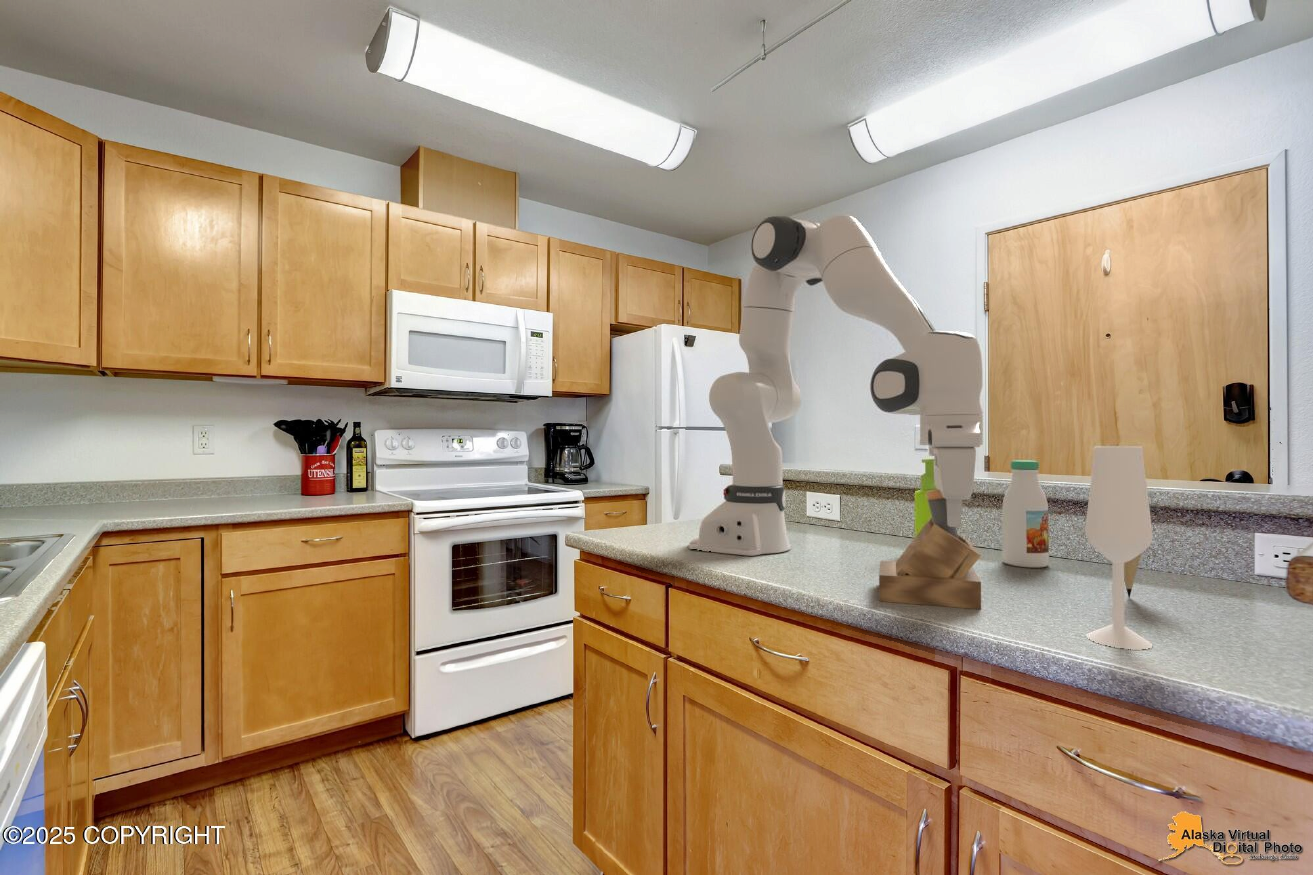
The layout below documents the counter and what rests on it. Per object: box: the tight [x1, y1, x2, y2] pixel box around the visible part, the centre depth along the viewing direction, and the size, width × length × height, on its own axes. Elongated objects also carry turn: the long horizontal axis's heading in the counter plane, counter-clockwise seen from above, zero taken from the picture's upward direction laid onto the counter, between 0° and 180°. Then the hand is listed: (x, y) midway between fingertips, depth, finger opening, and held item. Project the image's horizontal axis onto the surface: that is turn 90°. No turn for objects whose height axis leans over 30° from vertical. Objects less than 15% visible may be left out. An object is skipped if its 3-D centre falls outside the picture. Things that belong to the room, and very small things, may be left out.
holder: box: [878, 517, 982, 610], centre depth 98 cm, size 14×11×12 cm
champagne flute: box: [1084, 445, 1154, 651], centre depth 77 cm, size 7×7×24 cm
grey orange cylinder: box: [925, 489, 959, 540], centre depth 97 cm, size 3×3×10 cm
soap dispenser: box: [914, 458, 937, 538], centre depth 130 cm, size 6×7×20 cm
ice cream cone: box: [1124, 524, 1153, 599], centre depth 96 cm, size 6×6×15 cm
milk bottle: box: [1001, 459, 1050, 569], centre depth 120 cm, size 8×8×20 cm
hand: (951, 522), depth 97 cm, fingers open, 6 cm apart
